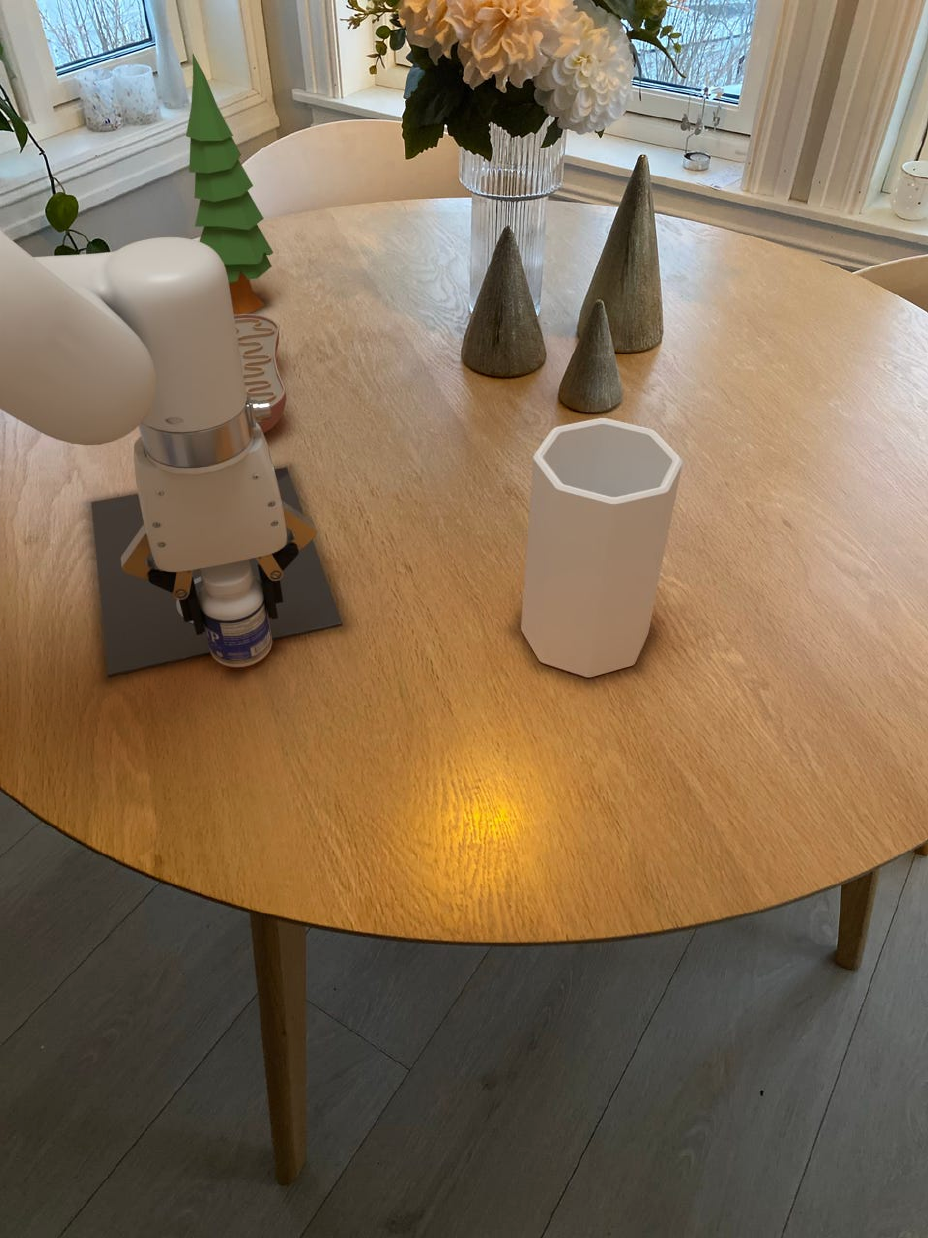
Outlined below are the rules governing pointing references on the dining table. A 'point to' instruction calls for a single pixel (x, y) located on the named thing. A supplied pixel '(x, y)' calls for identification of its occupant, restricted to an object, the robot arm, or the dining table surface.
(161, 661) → the hob
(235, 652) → the pill bottle
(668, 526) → the cup
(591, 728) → the dining table surface
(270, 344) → the anatomical model
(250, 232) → the decorative tree
